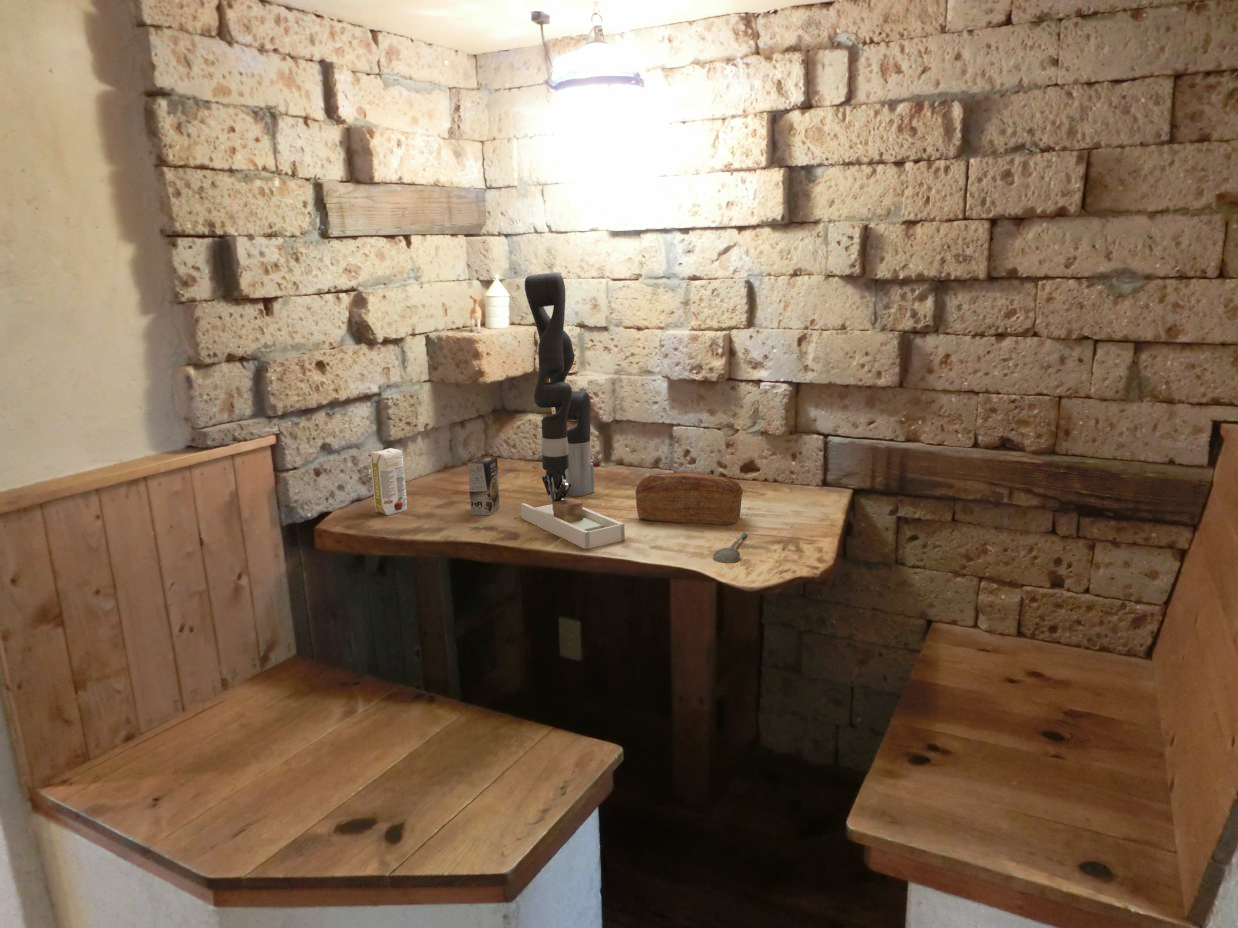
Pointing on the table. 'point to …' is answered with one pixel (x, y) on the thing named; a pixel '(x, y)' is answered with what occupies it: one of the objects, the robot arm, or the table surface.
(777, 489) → the table surface
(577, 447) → the robot arm
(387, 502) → the juice carton
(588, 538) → the track
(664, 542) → the table surface
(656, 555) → the table surface
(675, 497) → the bread
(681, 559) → the table surface
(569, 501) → the walnut block
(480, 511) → the coffee box
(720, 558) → the soupspoon
